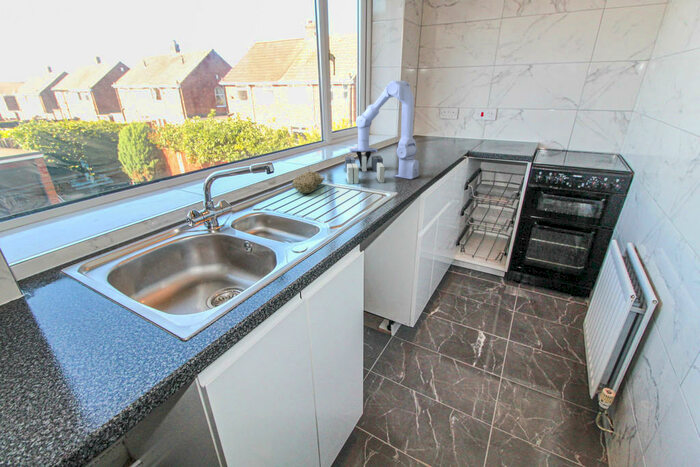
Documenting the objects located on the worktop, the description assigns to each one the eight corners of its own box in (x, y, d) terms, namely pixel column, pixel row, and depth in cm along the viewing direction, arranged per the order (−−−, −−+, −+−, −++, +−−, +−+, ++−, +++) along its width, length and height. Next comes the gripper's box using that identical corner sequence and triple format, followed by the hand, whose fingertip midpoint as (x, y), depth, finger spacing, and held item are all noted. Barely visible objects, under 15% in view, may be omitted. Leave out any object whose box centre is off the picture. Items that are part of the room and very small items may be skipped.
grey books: (379, 167, 183) (380, 155, 181) (382, 170, 175) (382, 158, 172) (345, 168, 182) (344, 156, 179) (346, 172, 174) (346, 159, 171)
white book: (364, 167, 183) (364, 154, 180) (366, 171, 175) (366, 157, 172) (360, 167, 183) (360, 154, 180) (362, 171, 174) (362, 157, 171)
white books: (381, 177, 162) (381, 162, 159) (384, 182, 154) (384, 166, 151) (347, 178, 161) (346, 163, 158) (348, 183, 153) (348, 167, 149)
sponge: (305, 185, 156) (280, 187, 138) (309, 169, 153) (283, 169, 136) (329, 193, 151) (306, 196, 133) (333, 177, 149) (310, 178, 131)
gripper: (376, 138, 176) (375, 163, 182) (349, 139, 175) (349, 164, 181) (378, 140, 170) (377, 166, 175) (350, 141, 169) (350, 167, 175)
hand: (363, 165), depth 178 cm, fingers closed on white book, 2 cm apart
